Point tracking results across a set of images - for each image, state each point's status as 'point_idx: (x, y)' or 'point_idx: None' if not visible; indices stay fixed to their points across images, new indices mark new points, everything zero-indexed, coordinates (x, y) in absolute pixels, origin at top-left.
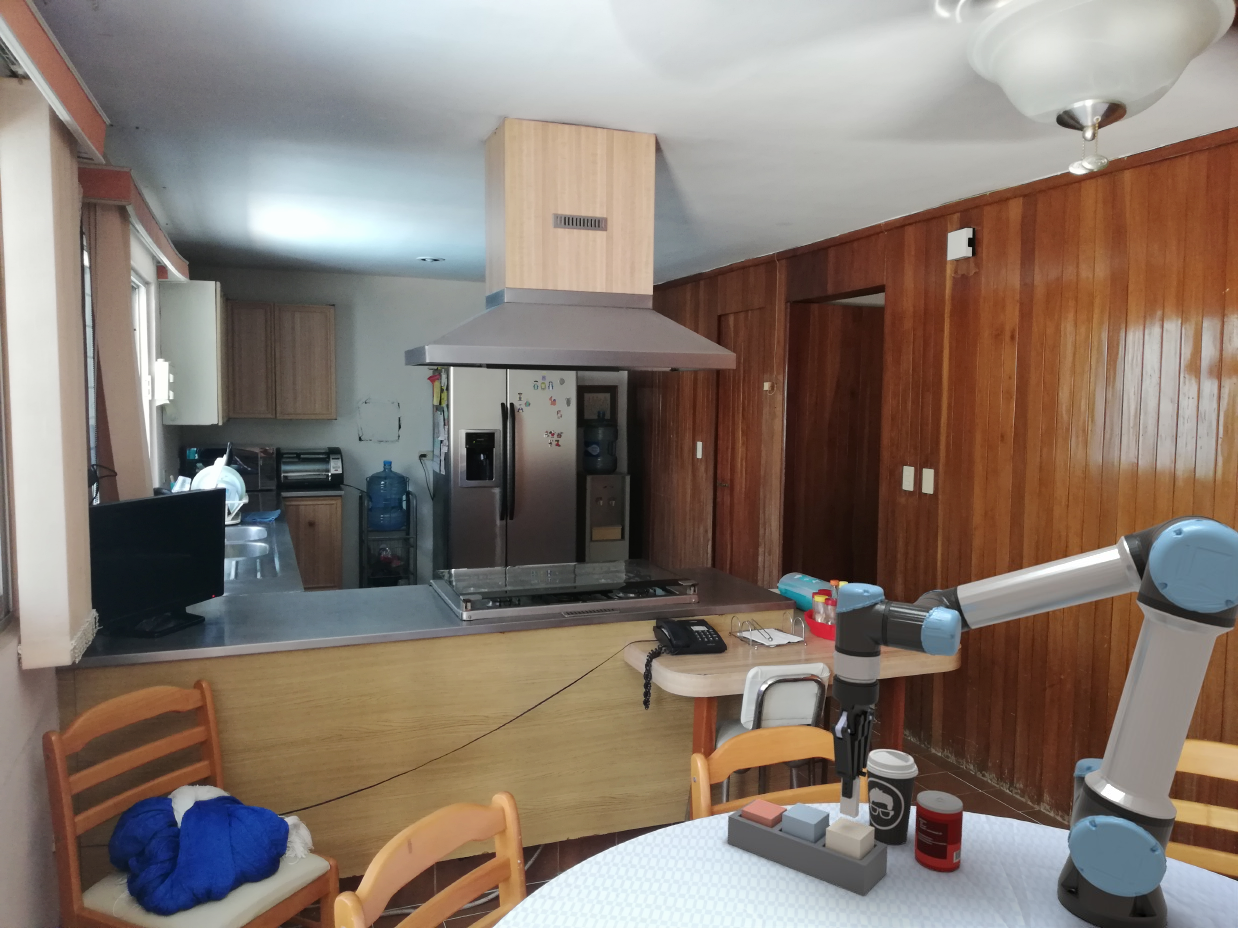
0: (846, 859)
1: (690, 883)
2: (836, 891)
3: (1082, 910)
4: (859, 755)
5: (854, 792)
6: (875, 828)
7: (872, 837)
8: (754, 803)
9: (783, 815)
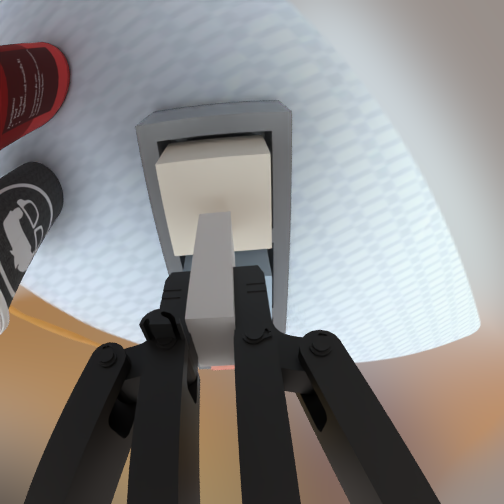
0: (290, 159)
1: (398, 298)
2: (300, 147)
3: None
4: (180, 437)
5: (232, 275)
6: (54, 211)
7: (173, 153)
8: (233, 366)
9: None
